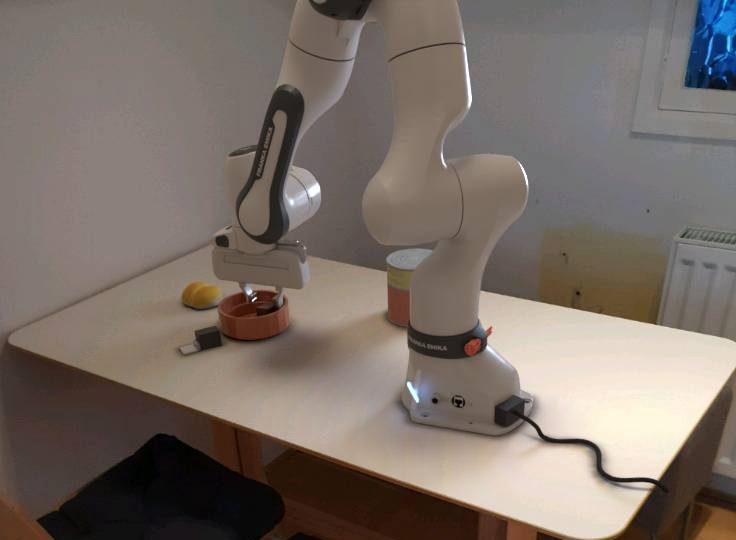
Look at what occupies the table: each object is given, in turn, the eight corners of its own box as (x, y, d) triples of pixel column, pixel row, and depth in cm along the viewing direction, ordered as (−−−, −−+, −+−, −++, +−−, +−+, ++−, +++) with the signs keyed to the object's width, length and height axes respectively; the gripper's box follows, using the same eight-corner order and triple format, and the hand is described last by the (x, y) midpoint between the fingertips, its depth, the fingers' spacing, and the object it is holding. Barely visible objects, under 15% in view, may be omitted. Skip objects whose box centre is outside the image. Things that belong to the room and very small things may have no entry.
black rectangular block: (217, 339, 164) (215, 324, 162) (222, 345, 162) (220, 330, 160) (179, 349, 162) (176, 334, 160) (184, 355, 159) (181, 340, 158)
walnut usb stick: (267, 317, 170) (266, 301, 169) (279, 318, 169) (279, 303, 167) (246, 327, 164) (245, 311, 162) (259, 329, 163) (259, 313, 161)
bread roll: (204, 313, 175) (201, 295, 172) (177, 304, 179) (173, 286, 177) (232, 299, 180) (229, 282, 177) (204, 291, 184) (201, 273, 182)
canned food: (449, 322, 165) (451, 264, 158) (396, 330, 163) (394, 272, 156) (432, 300, 174) (433, 245, 166) (381, 308, 172) (379, 252, 165)
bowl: (303, 320, 169) (301, 297, 166) (261, 347, 160) (258, 324, 157) (250, 307, 176) (247, 285, 173) (207, 333, 167) (203, 310, 164)
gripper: (312, 235, 156) (317, 303, 164) (220, 226, 163) (230, 292, 171) (297, 246, 151) (304, 316, 160) (203, 236, 158) (214, 304, 167)
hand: (265, 303), depth 166 cm, fingers open, 5 cm apart
